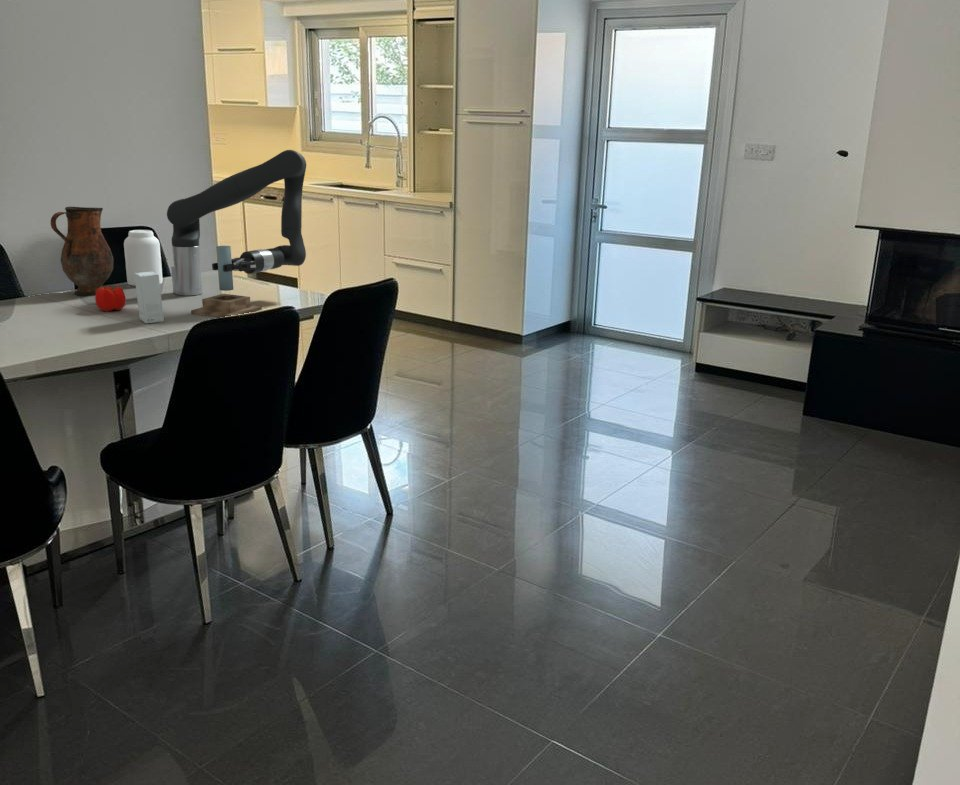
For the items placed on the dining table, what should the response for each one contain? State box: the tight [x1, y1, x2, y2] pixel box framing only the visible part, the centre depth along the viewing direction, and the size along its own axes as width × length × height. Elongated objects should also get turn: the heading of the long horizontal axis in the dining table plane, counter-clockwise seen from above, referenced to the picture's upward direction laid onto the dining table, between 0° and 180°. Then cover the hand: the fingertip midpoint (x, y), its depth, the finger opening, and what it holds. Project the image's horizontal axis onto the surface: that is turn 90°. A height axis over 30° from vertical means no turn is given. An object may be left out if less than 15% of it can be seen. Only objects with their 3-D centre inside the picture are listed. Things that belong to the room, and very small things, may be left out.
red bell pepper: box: [94, 286, 126, 312], centre depth 278 cm, size 9×9×8 cm
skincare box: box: [134, 272, 165, 324], centre depth 264 cm, size 8×6×15 cm
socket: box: [190, 293, 263, 318], centre depth 282 cm, size 16×16×4 cm
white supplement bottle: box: [123, 229, 164, 287], centre depth 320 cm, size 12×12×20 cm
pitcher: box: [50, 206, 114, 297], centre depth 297 cm, size 17×21×30 cm
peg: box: [215, 245, 234, 292], centre depth 278 cm, size 4×4×14 cm
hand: (218, 267), depth 276 cm, fingers closed on peg, 4 cm apart
